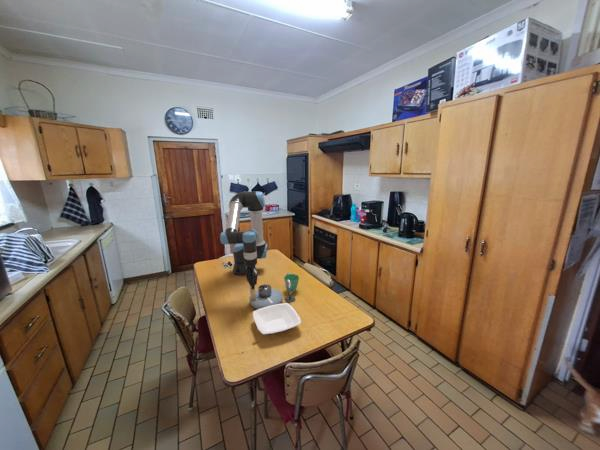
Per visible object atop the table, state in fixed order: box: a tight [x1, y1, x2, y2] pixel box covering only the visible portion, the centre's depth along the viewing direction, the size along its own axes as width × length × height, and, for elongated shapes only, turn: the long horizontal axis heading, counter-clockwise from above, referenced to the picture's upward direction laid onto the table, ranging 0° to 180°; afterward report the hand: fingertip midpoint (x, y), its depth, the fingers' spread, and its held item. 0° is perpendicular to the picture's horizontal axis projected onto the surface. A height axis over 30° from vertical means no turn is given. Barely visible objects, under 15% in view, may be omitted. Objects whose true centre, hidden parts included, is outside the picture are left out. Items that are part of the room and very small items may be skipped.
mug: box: [283, 272, 300, 293], centre depth 165 cm, size 15×10×10 cm
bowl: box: [252, 302, 302, 335], centre depth 128 cm, size 22×23×6 cm
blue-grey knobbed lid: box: [249, 288, 283, 310], centre depth 149 cm, size 20×20×10 cm
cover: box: [257, 284, 272, 298], centre depth 151 cm, size 8×8×5 cm
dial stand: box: [284, 279, 296, 304], centre depth 151 cm, size 5×5×14 cm
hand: (252, 293), depth 148 cm, fingers closed
